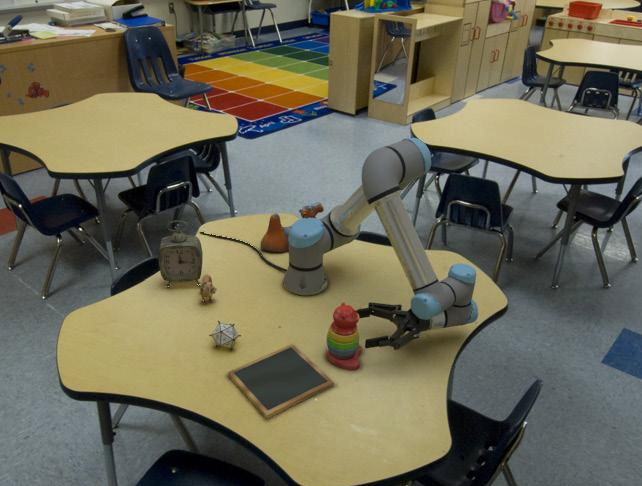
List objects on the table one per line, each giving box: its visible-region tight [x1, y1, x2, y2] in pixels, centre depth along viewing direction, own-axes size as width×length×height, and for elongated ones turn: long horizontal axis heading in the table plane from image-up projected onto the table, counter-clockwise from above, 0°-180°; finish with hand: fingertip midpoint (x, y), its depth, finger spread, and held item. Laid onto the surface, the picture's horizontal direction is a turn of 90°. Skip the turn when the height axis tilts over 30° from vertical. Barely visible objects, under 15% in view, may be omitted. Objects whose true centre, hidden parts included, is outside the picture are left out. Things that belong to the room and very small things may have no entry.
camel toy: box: [260, 201, 325, 253], centre depth 224 cm, size 25×13×17 cm, turn 89°
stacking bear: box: [326, 301, 362, 371], centre depth 167 cm, size 11×10×18 cm
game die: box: [208, 320, 242, 351], centre depth 175 cm, size 9×8×10 cm
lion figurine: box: [199, 274, 218, 305], centre depth 197 cm, size 15×5×9 cm, turn 13°
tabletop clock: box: [157, 220, 204, 289], centre depth 201 cm, size 14×9×25 cm, turn 93°
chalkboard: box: [227, 343, 334, 420], centre depth 163 cm, size 20×22×2 cm
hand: (356, 329), depth 167 cm, fingers open, 13 cm apart
